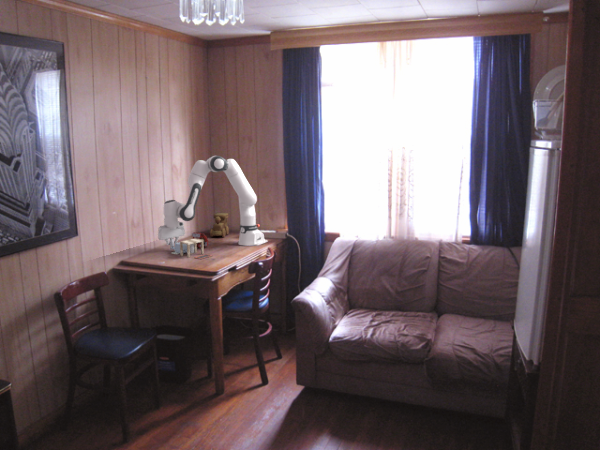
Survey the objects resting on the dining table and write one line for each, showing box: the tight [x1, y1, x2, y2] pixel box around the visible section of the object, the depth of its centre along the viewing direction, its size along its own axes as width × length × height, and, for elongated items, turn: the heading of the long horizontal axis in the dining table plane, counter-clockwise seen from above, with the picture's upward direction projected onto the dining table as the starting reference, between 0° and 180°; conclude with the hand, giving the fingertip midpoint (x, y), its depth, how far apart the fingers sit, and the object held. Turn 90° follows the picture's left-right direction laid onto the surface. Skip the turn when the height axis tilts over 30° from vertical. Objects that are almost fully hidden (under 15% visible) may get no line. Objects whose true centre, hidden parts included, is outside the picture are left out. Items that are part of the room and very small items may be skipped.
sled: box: [169, 237, 195, 254], centre depth 334 cm, size 6×23×8 cm, turn 54°
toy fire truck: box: [191, 232, 209, 249], centre depth 350 cm, size 7×12×10 cm, turn 68°
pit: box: [194, 253, 213, 260], centre depth 323 cm, size 10×6×1 cm, turn 144°
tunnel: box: [179, 238, 205, 259], centre depth 328 cm, size 13×8×10 cm, turn 144°
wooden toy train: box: [209, 212, 230, 238], centre depth 390 cm, size 20×11×17 cm, turn 174°
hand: (172, 244), depth 340 cm, fingers open, 5 cm apart
